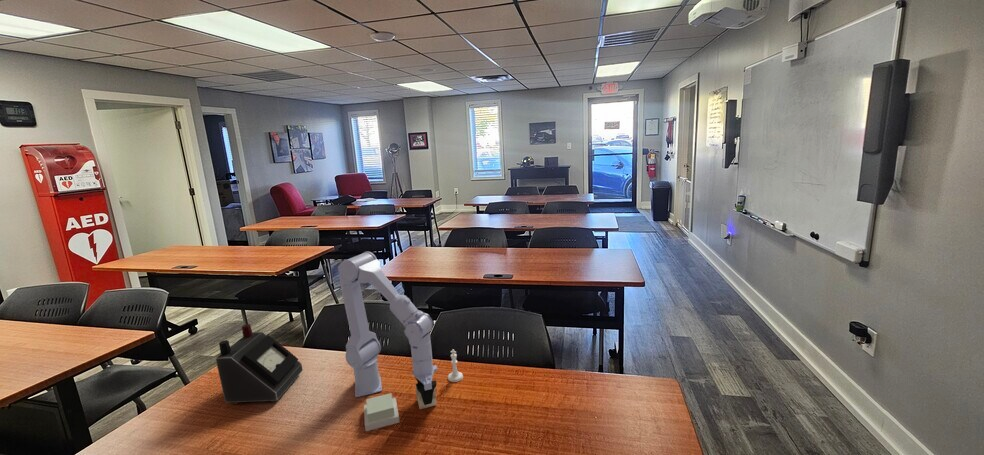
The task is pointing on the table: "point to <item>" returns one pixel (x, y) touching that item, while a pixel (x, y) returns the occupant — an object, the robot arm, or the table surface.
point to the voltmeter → (255, 368)
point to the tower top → (380, 407)
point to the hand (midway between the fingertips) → (426, 397)
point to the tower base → (383, 421)
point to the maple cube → (420, 400)
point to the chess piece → (454, 369)
